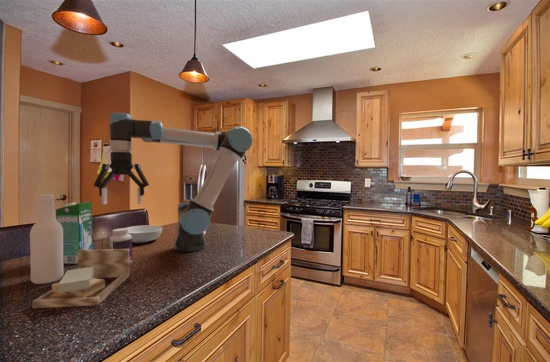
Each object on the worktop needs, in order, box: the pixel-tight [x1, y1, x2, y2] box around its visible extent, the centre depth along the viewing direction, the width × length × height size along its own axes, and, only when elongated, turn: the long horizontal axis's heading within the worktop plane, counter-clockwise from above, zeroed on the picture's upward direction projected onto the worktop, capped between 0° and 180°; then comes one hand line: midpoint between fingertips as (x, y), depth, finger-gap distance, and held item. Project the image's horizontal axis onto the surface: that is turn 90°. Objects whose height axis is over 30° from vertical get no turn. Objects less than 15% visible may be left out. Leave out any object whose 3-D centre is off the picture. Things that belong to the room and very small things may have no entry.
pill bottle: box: [108, 227, 133, 264], centre depth 110 cm, size 8×8×14 cm
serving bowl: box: [126, 224, 163, 244], centre depth 148 cm, size 21×21×7 cm
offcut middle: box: [51, 278, 106, 297], centre depth 82 cm, size 12×7×2 cm, turn 76°
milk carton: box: [55, 201, 93, 265], centre depth 115 cm, size 9×9×25 cm
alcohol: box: [29, 193, 65, 285], centre depth 94 cm, size 9×9×30 cm
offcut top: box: [59, 267, 94, 293], centre depth 82 cm, size 12×7×2 cm, turn 28°
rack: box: [31, 248, 131, 309], centre depth 87 cm, size 17×22×10 cm
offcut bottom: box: [49, 287, 106, 299], centre depth 82 cm, size 12×7×2 cm, turn 91°
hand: (122, 203), depth 110 cm, fingers open, 13 cm apart
